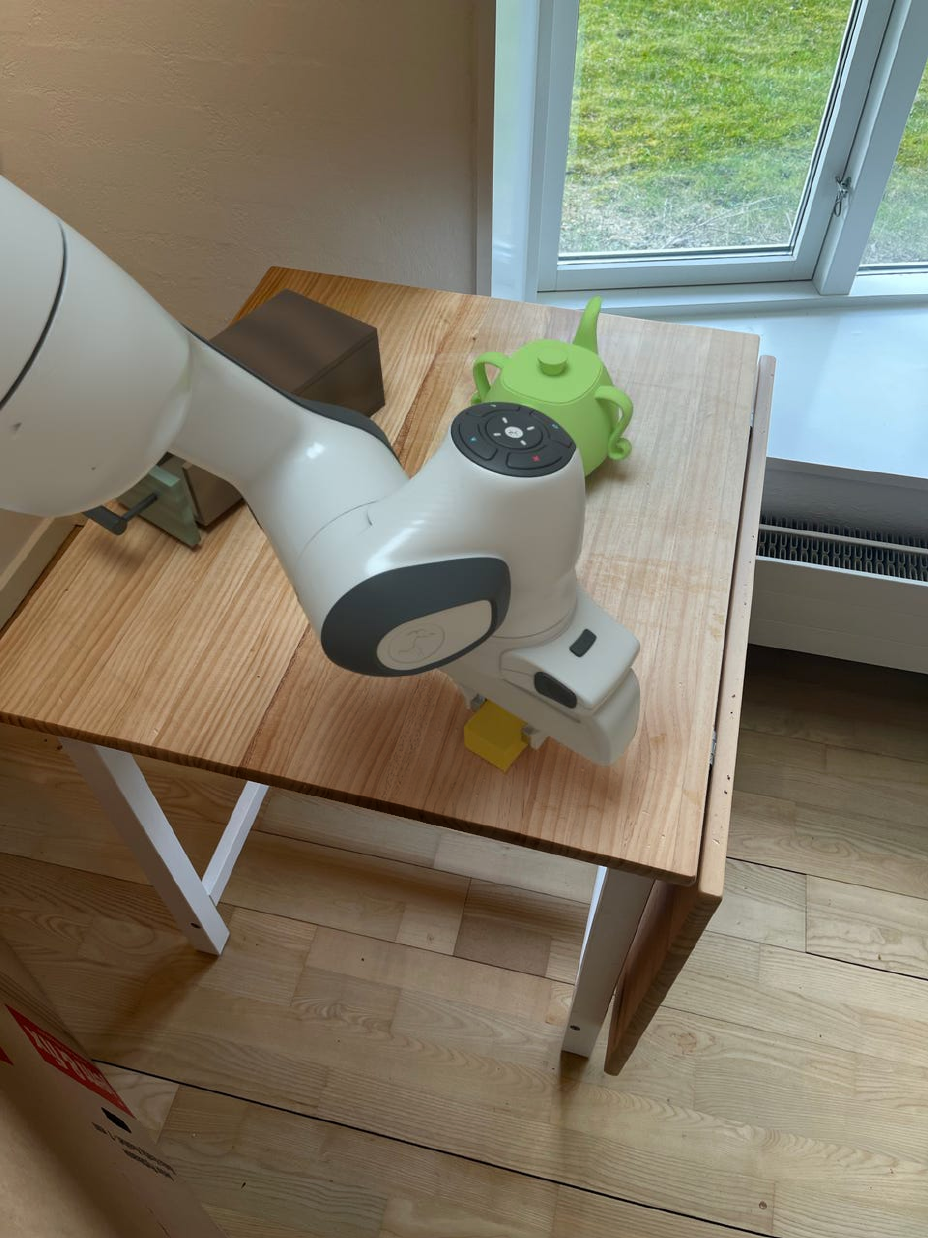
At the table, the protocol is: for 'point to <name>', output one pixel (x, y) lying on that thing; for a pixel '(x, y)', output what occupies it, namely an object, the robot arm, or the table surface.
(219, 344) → the cabinet
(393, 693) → the table surface
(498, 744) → the sponge
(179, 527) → the drawer
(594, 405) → the teapot
